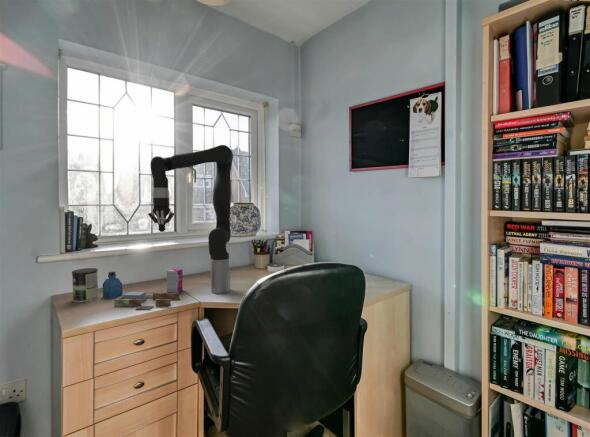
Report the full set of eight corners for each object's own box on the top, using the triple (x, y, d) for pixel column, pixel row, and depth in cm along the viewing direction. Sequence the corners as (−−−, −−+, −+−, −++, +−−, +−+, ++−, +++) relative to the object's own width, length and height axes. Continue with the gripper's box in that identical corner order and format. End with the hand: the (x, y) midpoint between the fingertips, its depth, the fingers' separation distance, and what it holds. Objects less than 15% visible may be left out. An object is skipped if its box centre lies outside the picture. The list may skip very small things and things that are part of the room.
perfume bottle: (109, 298, 149) (108, 274, 149) (103, 296, 153) (102, 272, 152) (122, 295, 155) (121, 271, 154) (115, 293, 158) (115, 270, 157)
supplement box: (176, 293, 158) (176, 271, 157) (166, 292, 159) (165, 270, 158) (183, 290, 163) (182, 268, 163) (173, 289, 164) (172, 268, 164)
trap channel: (183, 296, 153) (183, 290, 153) (165, 310, 133) (165, 303, 133) (133, 295, 153) (133, 290, 153) (108, 309, 133) (108, 303, 133)
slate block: (145, 300, 147) (145, 292, 147) (139, 303, 142) (139, 295, 142) (129, 300, 148) (129, 291, 148) (123, 303, 143) (123, 294, 143)
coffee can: (72, 303, 142) (71, 273, 141) (72, 298, 150) (71, 269, 149) (99, 299, 148) (98, 270, 147) (97, 294, 156) (97, 267, 155)
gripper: (177, 197, 158) (178, 230, 159) (151, 197, 158) (152, 231, 159) (171, 196, 150) (172, 232, 151) (144, 197, 151) (145, 232, 151)
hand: (162, 231), depth 155 cm, fingers closed
